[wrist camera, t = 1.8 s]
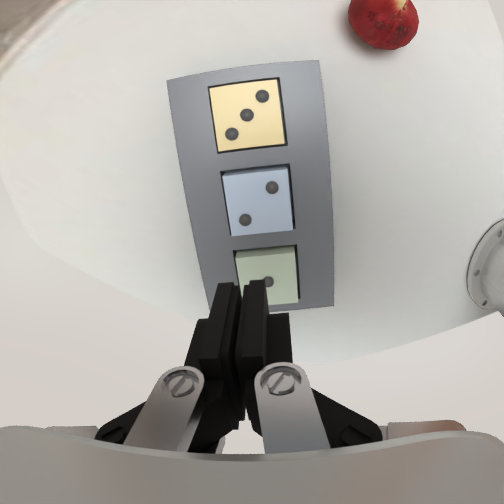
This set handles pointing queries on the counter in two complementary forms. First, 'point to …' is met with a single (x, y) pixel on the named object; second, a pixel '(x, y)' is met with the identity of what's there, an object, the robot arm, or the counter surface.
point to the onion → (384, 22)
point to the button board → (290, 154)
